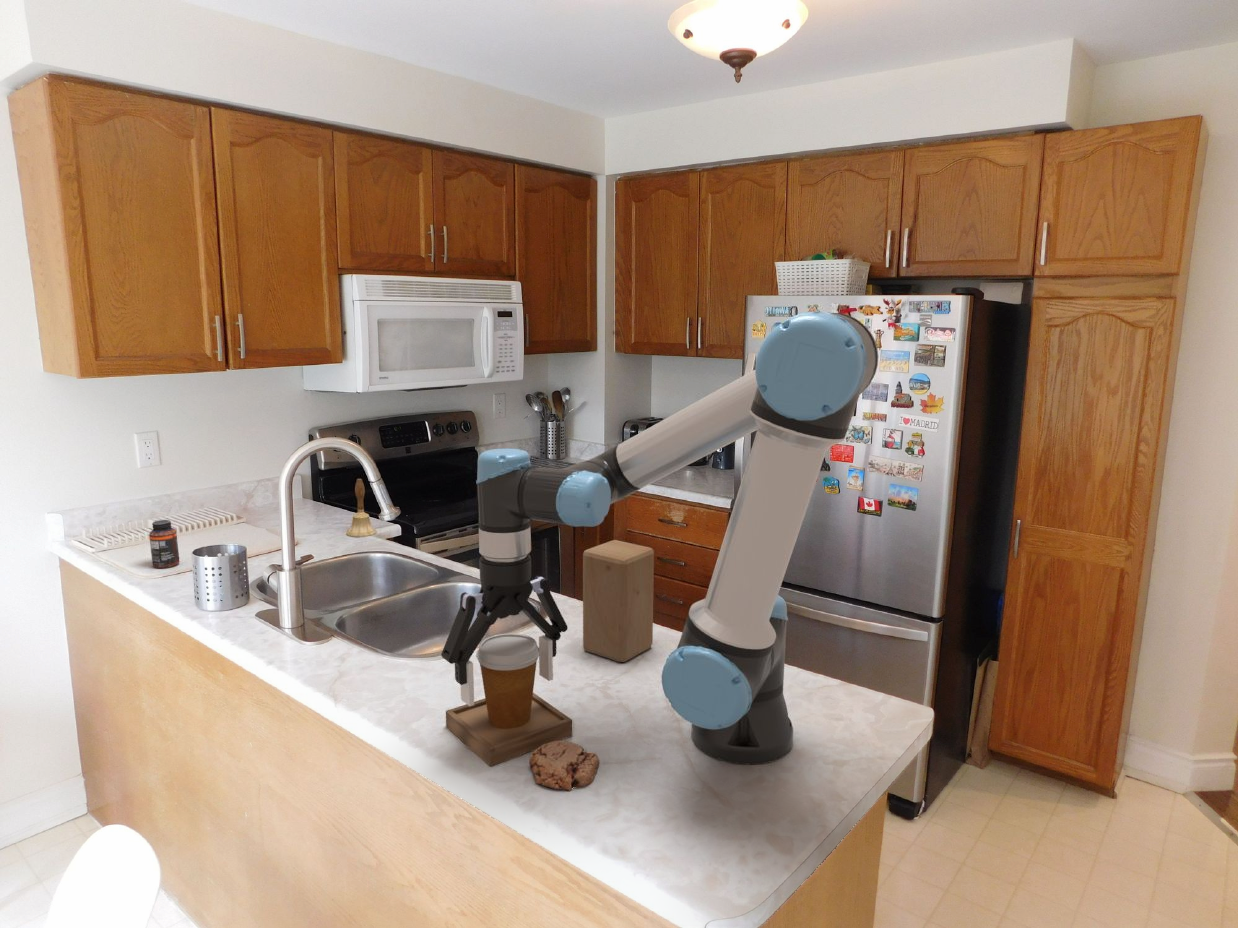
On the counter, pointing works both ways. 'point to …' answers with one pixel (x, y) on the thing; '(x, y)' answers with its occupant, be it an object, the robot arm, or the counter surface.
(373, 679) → the counter surface
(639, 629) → the wooden block
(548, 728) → the wooden tray
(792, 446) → the robot arm
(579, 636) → the counter surface
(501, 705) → the disposable coffee cup
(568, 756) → the cookie
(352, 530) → the hand bell
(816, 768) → the counter surface
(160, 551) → the supplement bottle
